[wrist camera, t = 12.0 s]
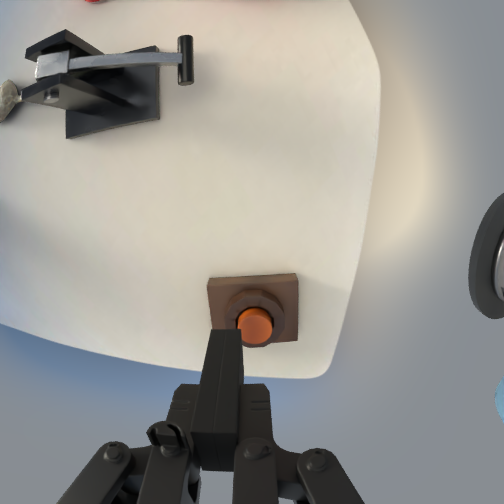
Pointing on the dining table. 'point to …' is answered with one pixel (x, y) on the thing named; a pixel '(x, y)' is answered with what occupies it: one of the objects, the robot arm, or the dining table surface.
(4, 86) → the soupspoon
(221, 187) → the dining table surface
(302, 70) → the dining table surface
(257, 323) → the button
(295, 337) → the button box
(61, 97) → the lever bracket
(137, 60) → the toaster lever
